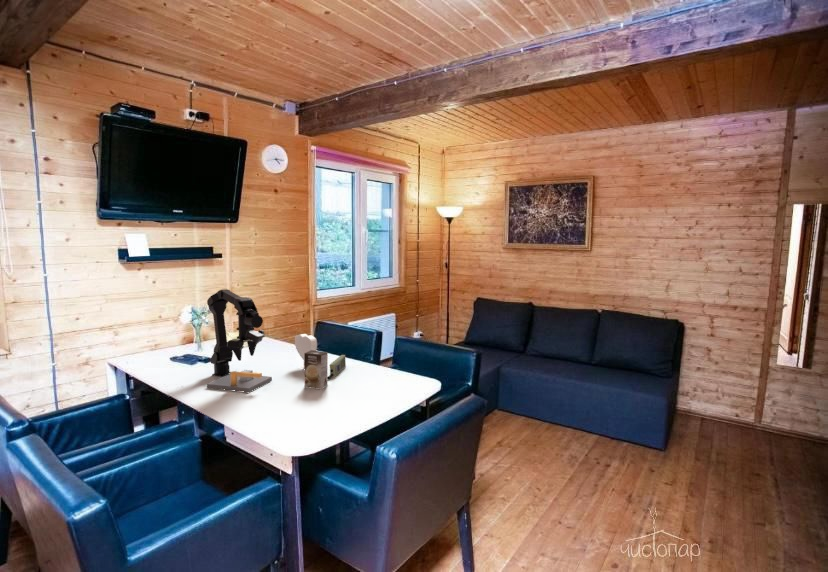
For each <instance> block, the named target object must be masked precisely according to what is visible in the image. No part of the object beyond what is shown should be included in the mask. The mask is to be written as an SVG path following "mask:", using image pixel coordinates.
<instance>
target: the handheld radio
mask: <svg viewBox="0 0 828 572" xmlns="http://www.w3.org/2000/svg"><path fill="white" fill-rule="evenodd" d="M346 366H347V365H346V354H341V355H339V356H338V357H337V358H336V359H335V360H333V361H332V362H331V363H330V364H329V374H328V375H327V380H331V378H333V377H332V376H335V377H336V376H337V375H338V374H340V372H341V371H342V370H344V369H345V368H346ZM344 367H345V368H344Z"/></svg>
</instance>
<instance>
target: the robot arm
mask: <svg viewBox="0 0 828 572" xmlns="http://www.w3.org/2000/svg"><path fill="white" fill-rule="evenodd" d="M228 303H230V304H231V305H233V306H234V307H233V308H234V309H235V310H236V311H237V312H236V316H238V317H237V320H238V321H237V322H238V327H236V331H238V336H236V338H233V339H230V340H228V338H227V329H226V323H225V312H226V310H227V304H228ZM206 304H207V306H208V310H209V312H211V314H212V317H213V324H214V325H213V326H214V333H215V342H216V343H215V345H214V348H213V353H212V355H211V357H210V360H209V361H210V363H211V364H212V365H213V369H214V370H213V371H214V373H212V376H214V375H215V377H224V376H227V375H229V373H230V374H231V372H232V371H230V370H231V369H230V365H229V364H230V362H233V361H232V360H233V355H235V357H236V359H237V360H238V361H242V354H243V353H242V352H243V351H242V350H243V349H244V348H245V346H244V344H245V343H247V347H248V350H249V355H250V356H251V357H253V356H254V354H255V351H256V348H257V345H258V344H259V343H260V342H262V341H263V338H265V337H266V336H265V330H263V329H259V330H255V329H258V328H260V327H261V326H262V325H263V323H264V322H263V321H264V320H263V317H262V316H261V315H260V314H259V312H258V308H257V306H256V304H255V301H253V298H251V297H246V296H240V295H238V294H237V293H235V292H233V291H231V290H230V289H227V288H225V289H219V290H217V292H216V293H213V294H212V295H210V296H209V297H208V299H207V303H206Z"/></svg>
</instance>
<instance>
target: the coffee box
mask: <svg viewBox="0 0 828 572" xmlns="http://www.w3.org/2000/svg"><path fill="white" fill-rule="evenodd" d="M328 362H329V361H328V351H320V350H316V351H314V350H311V351H308V352H306V353H304V360H303V366H304V367H305V370H304V388H309V387H311V389H316V388H319V389H318V390H321V389H324V388H326V387H327V386H328V379H327V377H328V370H329V369H328V368H329V367H328ZM323 387H324V388H323Z"/></svg>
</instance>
